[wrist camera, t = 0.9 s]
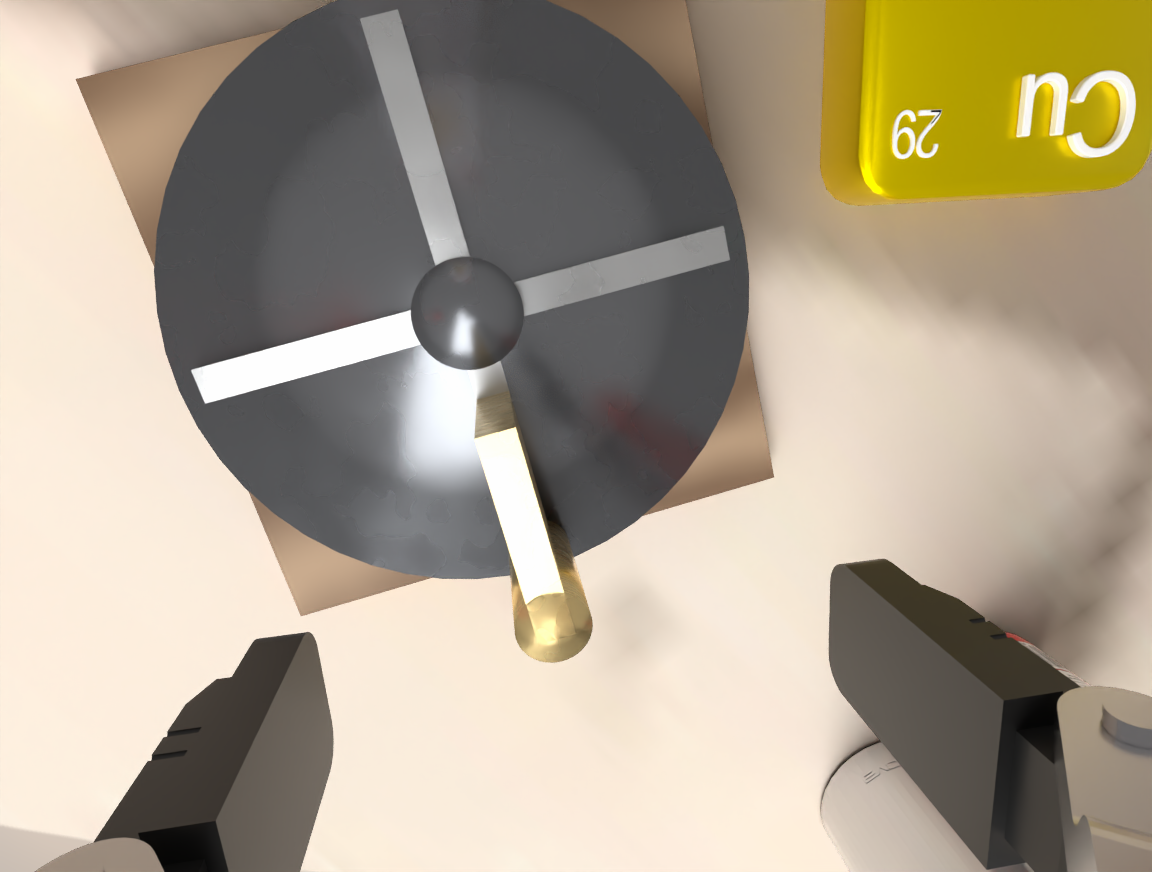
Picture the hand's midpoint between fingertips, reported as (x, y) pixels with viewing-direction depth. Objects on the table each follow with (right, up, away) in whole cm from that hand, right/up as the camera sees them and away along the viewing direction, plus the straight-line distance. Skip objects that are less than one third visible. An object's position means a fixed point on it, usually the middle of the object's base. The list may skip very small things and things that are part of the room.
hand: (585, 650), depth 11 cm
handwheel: (-5, +8, +19) cm, 21 cm away
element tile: (+19, +23, +24) cm, 39 cm away
